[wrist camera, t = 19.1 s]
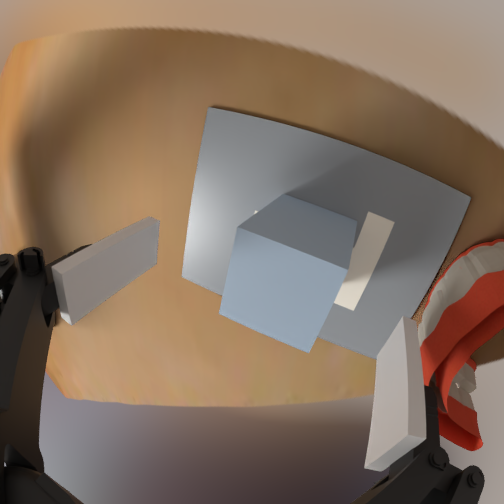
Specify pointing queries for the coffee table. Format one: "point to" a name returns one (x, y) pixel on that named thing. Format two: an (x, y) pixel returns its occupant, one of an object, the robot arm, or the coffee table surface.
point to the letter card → (331, 198)
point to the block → (288, 270)
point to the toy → (461, 335)
